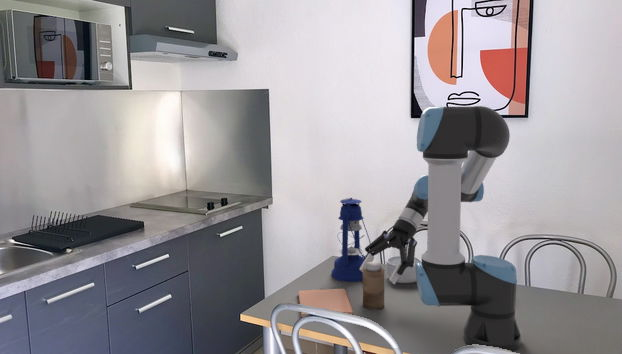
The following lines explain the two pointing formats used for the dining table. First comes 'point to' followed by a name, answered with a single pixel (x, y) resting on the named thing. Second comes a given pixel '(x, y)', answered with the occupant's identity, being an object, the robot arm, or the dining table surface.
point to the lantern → (350, 259)
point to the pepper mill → (373, 286)
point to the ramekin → (408, 274)
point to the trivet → (326, 300)
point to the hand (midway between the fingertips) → (376, 276)
